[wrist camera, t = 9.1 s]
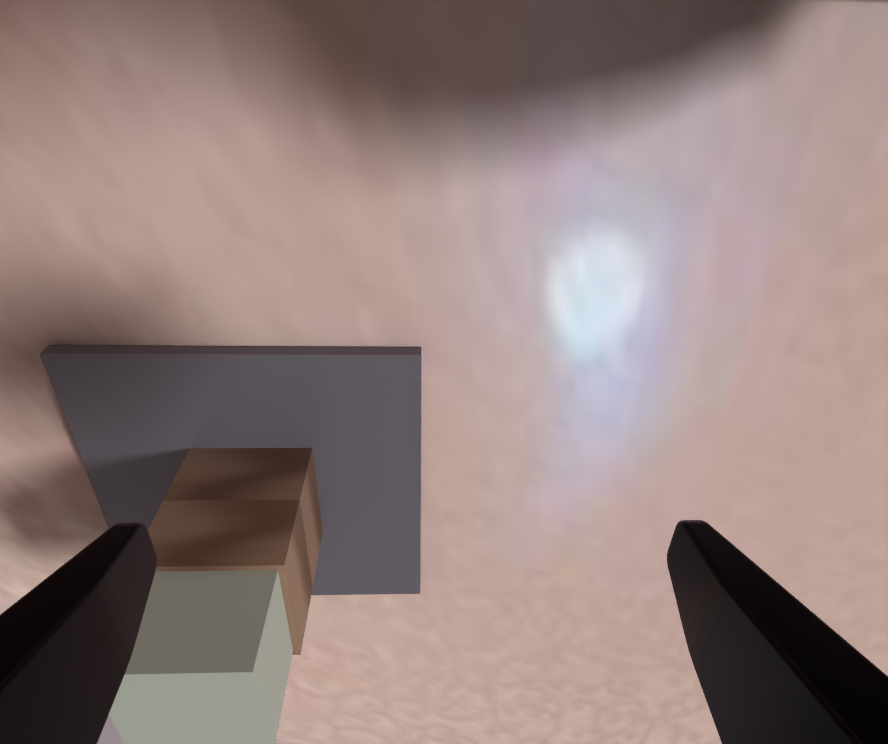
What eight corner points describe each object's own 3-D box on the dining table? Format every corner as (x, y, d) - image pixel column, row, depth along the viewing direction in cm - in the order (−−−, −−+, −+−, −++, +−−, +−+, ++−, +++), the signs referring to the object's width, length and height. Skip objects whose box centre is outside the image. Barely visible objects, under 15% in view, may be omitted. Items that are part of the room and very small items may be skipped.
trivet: (421, 347, 23) (421, 355, 22) (420, 583, 30) (420, 593, 30) (48, 345, 22) (40, 353, 22) (141, 587, 30) (136, 597, 29)
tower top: (299, 499, 22) (284, 565, 19) (312, 587, 25) (300, 654, 22) (162, 500, 22) (128, 567, 19) (190, 588, 24) (164, 656, 22)
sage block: (277, 570, 20) (252, 672, 17) (292, 650, 22) (273, 752, 19) (139, 571, 19) (88, 675, 16) (169, 652, 22) (130, 755, 19)
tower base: (312, 447, 24) (299, 499, 22) (322, 532, 27) (312, 587, 25) (189, 448, 24) (162, 500, 22) (212, 533, 27) (190, 588, 24)
